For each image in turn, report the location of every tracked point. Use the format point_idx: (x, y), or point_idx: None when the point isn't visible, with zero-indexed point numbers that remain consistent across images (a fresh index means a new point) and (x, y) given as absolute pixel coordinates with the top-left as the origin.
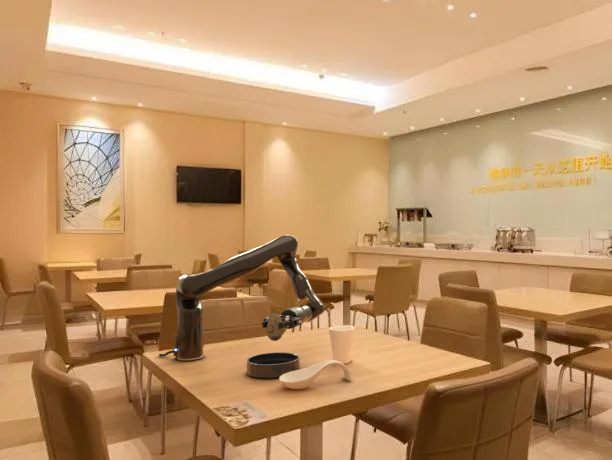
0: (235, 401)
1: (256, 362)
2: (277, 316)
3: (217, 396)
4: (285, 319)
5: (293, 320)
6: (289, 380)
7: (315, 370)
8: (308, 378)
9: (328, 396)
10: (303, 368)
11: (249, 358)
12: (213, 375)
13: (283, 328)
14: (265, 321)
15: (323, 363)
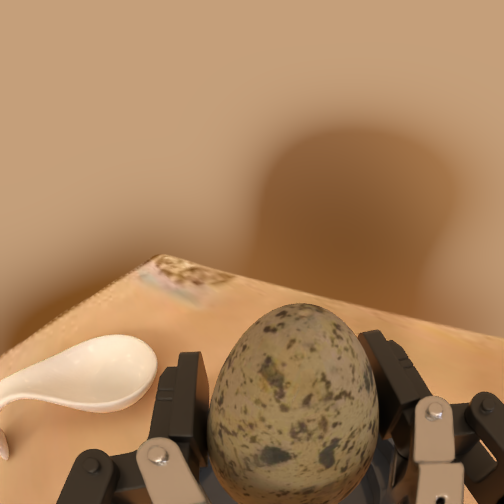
0: (218, 299)
1: (381, 486)
2: (241, 338)
3: (273, 305)
4: (204, 499)
5: (77, 462)
6: (138, 387)
7: (58, 393)
8: (75, 346)
9: (50, 349)
10: (93, 402)
11: (388, 439)
12: (435, 386)
13: (215, 473)
14: (369, 343)
15: (28, 389)
